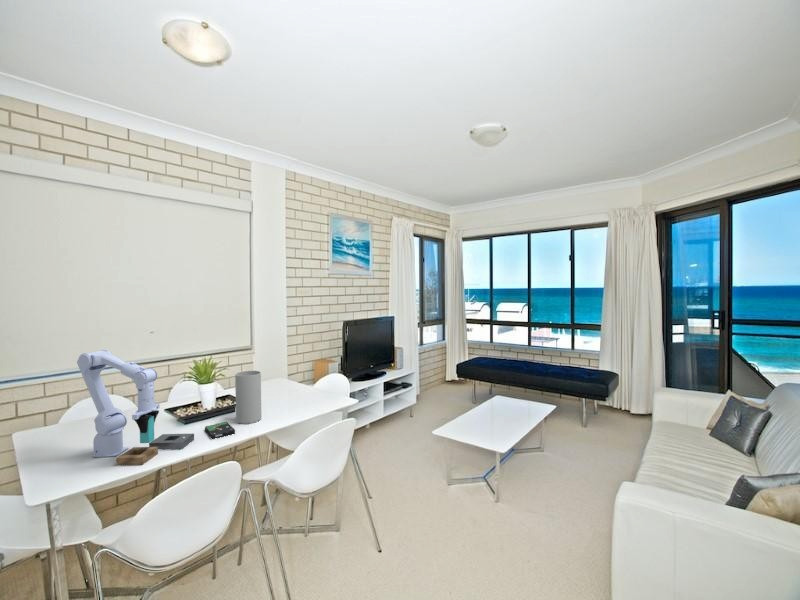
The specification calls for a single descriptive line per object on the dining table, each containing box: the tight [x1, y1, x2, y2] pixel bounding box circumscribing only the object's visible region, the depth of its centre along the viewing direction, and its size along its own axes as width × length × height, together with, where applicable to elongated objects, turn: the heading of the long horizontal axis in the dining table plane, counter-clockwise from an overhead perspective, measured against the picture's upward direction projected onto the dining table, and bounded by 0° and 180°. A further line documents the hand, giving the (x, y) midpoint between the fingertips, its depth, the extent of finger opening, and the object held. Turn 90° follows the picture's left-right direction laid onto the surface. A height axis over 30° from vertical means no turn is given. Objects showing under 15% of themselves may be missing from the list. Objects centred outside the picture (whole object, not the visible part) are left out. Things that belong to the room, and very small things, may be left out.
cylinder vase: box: [234, 370, 262, 425], centre depth 196 cm, size 12×12×25 cm
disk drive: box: [204, 421, 236, 440], centre depth 180 cm, size 10×3×15 cm
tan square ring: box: [115, 446, 159, 466], centre depth 152 cm, size 10×10×3 cm
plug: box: [139, 415, 155, 444], centre depth 155 cm, size 4×4×11 cm
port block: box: [148, 433, 195, 450], centre depth 166 cm, size 14×10×3 cm
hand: (146, 430), depth 155 cm, fingers closed on plug, 4 cm apart
